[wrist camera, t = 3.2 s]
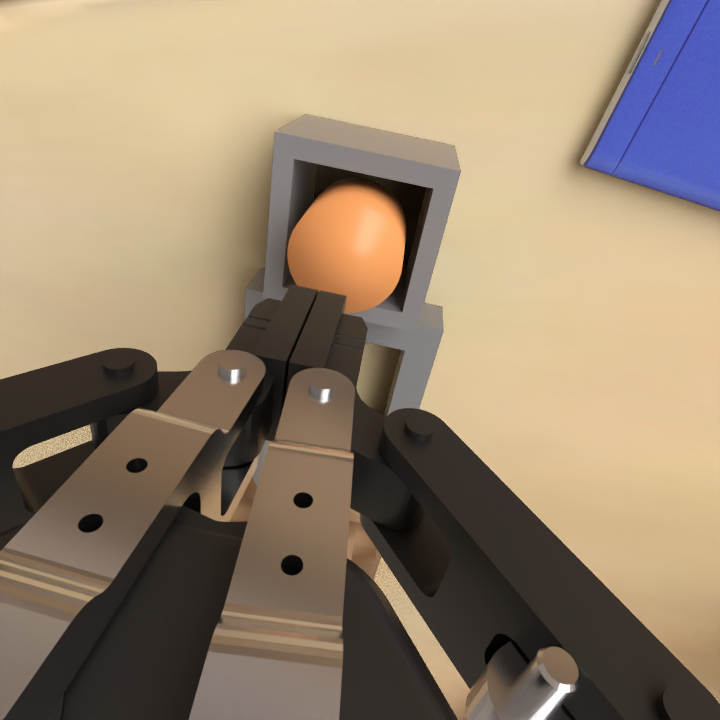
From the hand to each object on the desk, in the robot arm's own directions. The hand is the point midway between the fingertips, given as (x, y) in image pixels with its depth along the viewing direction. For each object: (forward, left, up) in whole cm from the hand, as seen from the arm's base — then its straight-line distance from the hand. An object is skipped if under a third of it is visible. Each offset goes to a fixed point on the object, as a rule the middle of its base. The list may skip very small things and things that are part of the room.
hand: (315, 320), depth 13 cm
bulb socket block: (0, +5, -11) cm, 12 cm away
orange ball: (0, 0, -8) cm, 8 cm away
